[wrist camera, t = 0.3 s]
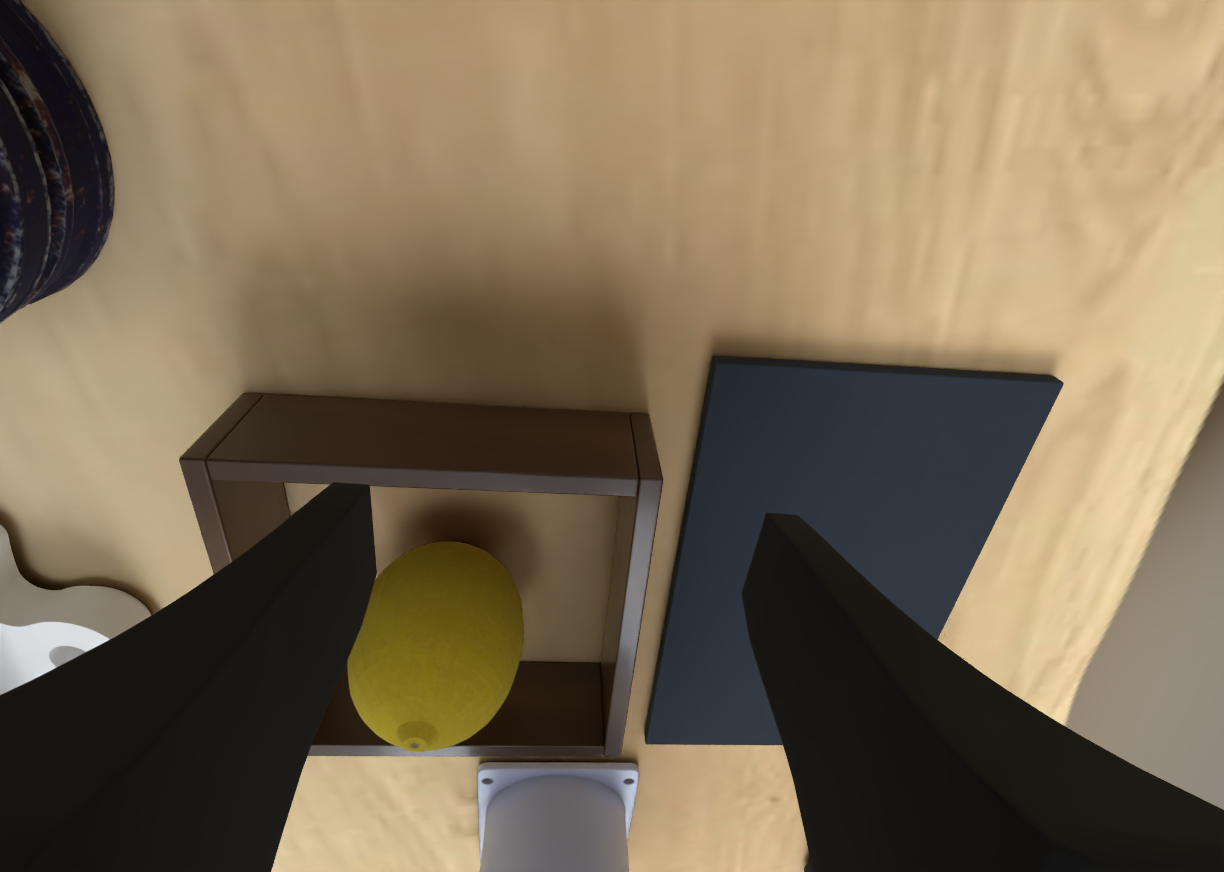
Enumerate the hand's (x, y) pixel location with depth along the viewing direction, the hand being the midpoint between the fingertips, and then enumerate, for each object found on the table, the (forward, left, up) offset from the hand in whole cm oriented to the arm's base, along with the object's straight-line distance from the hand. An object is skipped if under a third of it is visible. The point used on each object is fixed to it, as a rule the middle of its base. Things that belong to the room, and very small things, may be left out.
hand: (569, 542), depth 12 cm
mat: (-10, -11, -10) cm, 18 cm away
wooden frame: (-9, +4, -10) cm, 14 cm away
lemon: (-9, +4, -10) cm, 14 cm away
